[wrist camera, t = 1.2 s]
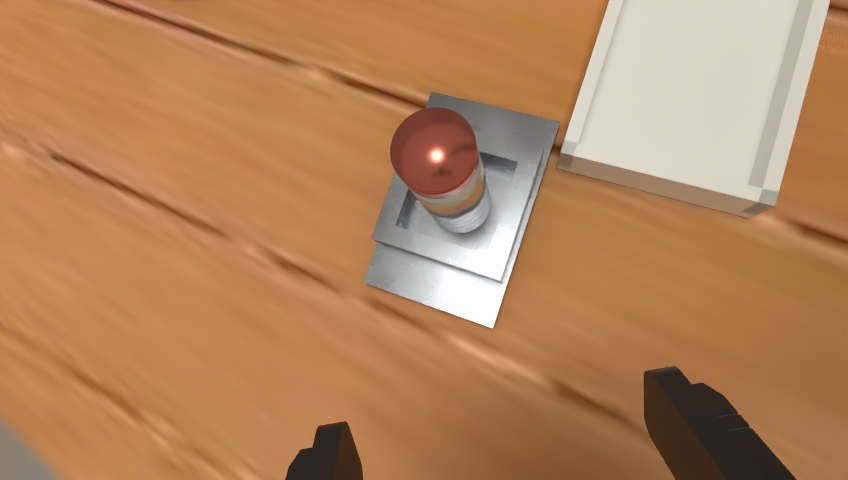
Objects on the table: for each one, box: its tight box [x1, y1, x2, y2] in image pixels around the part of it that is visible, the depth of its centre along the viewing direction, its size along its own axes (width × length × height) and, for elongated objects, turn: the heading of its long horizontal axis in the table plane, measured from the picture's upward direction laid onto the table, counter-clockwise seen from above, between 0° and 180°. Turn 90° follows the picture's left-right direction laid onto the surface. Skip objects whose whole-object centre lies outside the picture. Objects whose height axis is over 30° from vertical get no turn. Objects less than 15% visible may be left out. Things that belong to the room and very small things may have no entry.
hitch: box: [363, 92, 560, 328], centre depth 31 cm, size 14×9×3 cm, turn 160°
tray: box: [557, 0, 830, 218], centre depth 30 cm, size 16×12×3 cm
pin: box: [390, 107, 491, 233], centre depth 27 cm, size 4×4×10 cm
